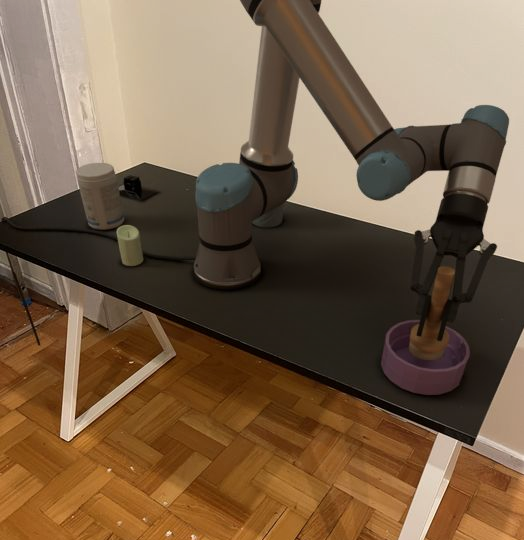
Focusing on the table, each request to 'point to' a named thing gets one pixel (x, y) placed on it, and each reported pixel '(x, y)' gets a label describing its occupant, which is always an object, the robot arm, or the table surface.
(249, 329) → the table surface
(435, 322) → the dish brush
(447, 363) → the lilac bowl
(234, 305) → the table surface
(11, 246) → the table surface
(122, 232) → the candle
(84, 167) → the supplement tub
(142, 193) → the black stepped block
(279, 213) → the grey green cup
